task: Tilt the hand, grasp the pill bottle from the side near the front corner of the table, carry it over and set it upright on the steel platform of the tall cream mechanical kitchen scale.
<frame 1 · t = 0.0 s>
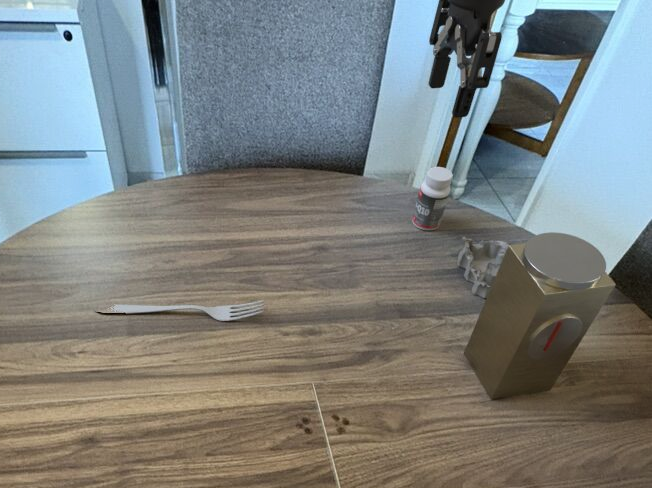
hand: (447, 101, 87), 18 cm above the table, tool pointing down, fingers open, 8 cm apart
fork: (179, 314, 88), on the table
egg carton: (485, 277, 96), on the table
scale: (506, 371, 85), on the table
pill bottle: (425, 224, 103), on the table
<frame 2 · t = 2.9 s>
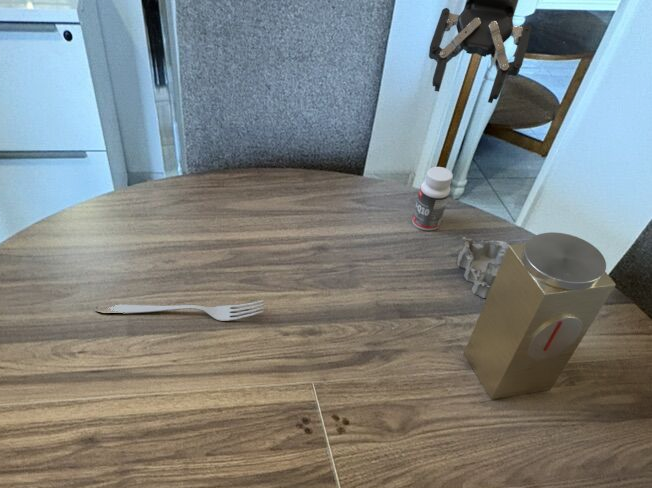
hand: (463, 94, 96), 15 cm above the table, tool tilted 45°, fingers open, 8 cm apart
nothing on the table moved.
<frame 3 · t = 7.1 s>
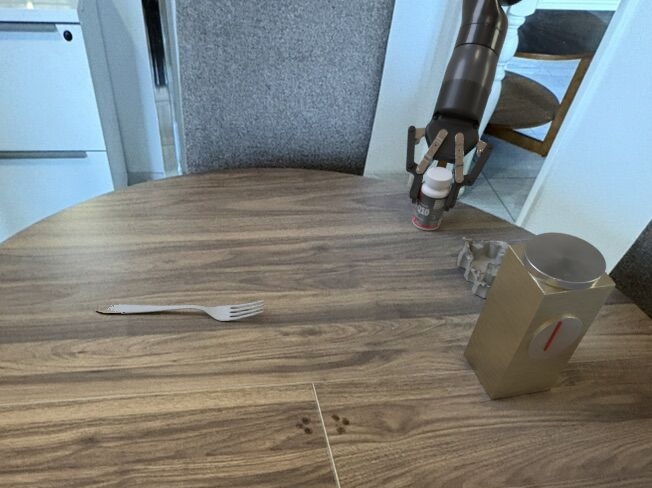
hand: (430, 205, 98), 4 cm above the table, tool tilted 45°, fingers closed on pill bottle, 4 cm apart
pill bottle: (425, 224, 103), on the table, touching gripper
everything else where it was.
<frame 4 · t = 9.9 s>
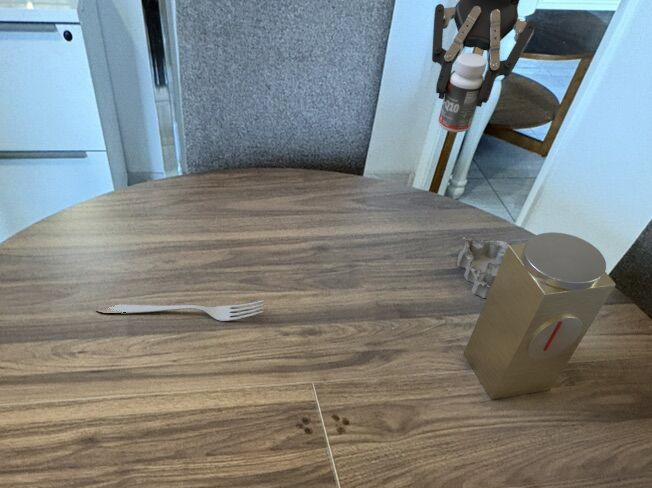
hand: (460, 99, 85), 20 cm above the table, tool tilted 45°, fingers closed on pill bottle, 4 cm apart
pill bottle: (453, 126, 90), point 15 cm above the table, touching gripper
everything else where it was.
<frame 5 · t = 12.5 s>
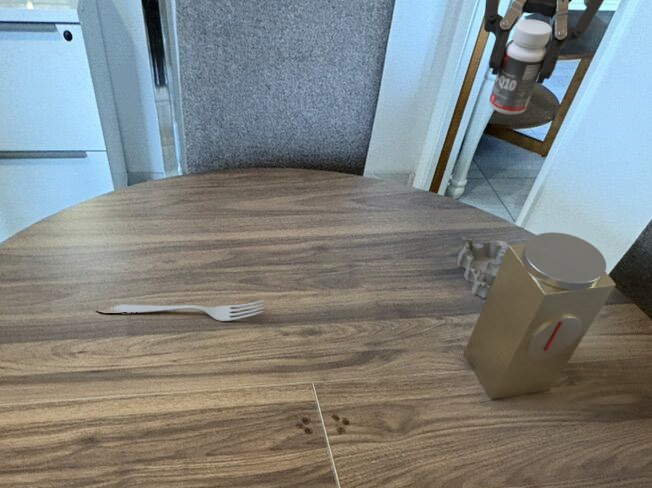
hand: (518, 75, 72), 28 cm above the table, tool tilted 45°, fingers closed on pill bottle, 4 cm apart
pill bottle: (506, 107, 77), point 23 cm above the table, touching gripper
everything else where it was.
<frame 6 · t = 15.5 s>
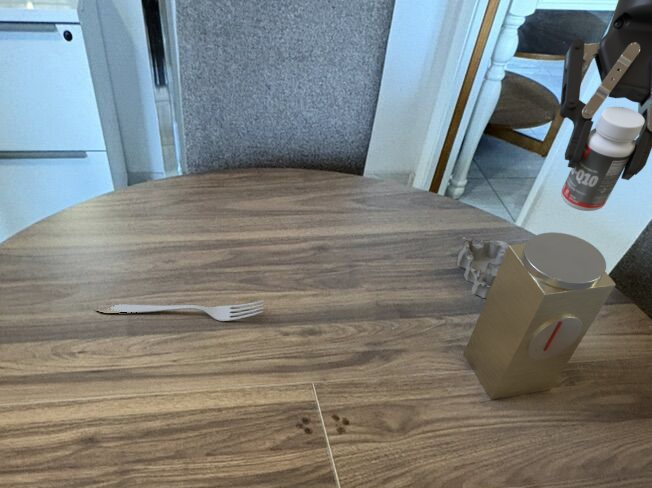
hand: (600, 170, 61), 28 cm above the table, tool tilted 45°, fingers closed on pill bottle, 4 cm apart
pill bottle: (581, 201, 66), point 23 cm above the table, touching gripper
everything else where it was.
when the fingers open (22 cm above the table, at t = 17.8 s): pill bottle stays where it is, resting on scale.
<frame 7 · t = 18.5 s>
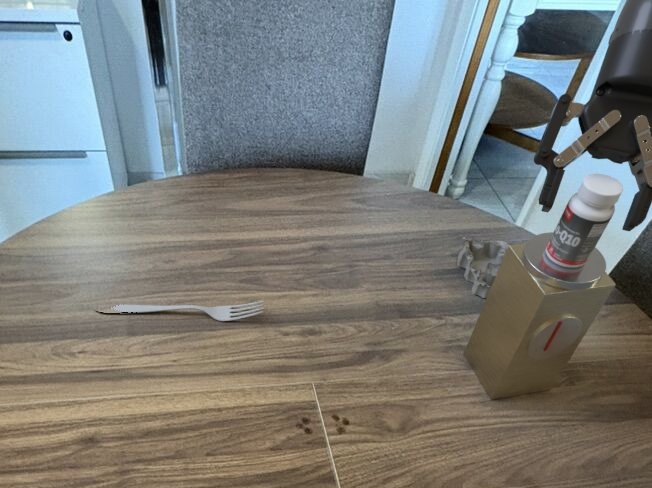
hand: (587, 219, 65), 23 cm above the table, tool tilted 45°, fingers open, 8 cm apart
pill bottle: (564, 257, 70), point 18 cm above the table, touching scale
everything else where it was.
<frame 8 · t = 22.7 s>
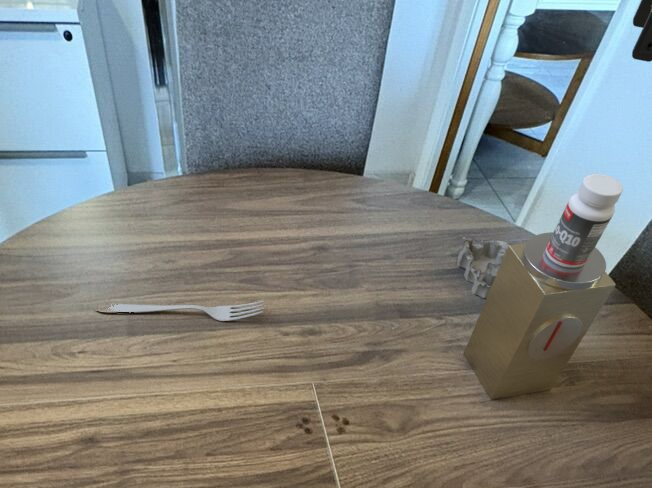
hand: (641, 42, 63), 34 cm above the table, tool pointing down, fingers open, 8 cm apart
nothing on the table moved.
at the end: pill bottle inside the target area on the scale (0.1 cm from its centre), point 17.8 cm above the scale's base; pill bottle tilted 0°; the gripper is holding nothing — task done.
